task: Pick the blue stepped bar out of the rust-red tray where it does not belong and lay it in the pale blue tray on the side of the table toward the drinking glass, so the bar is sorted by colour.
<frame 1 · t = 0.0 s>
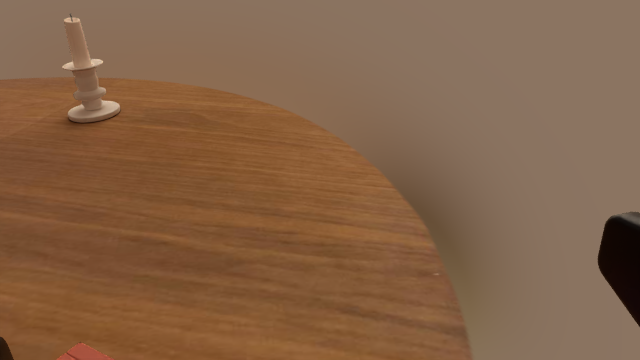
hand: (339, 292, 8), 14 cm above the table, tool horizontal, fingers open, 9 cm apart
candle: (95, 115, 59), on the table
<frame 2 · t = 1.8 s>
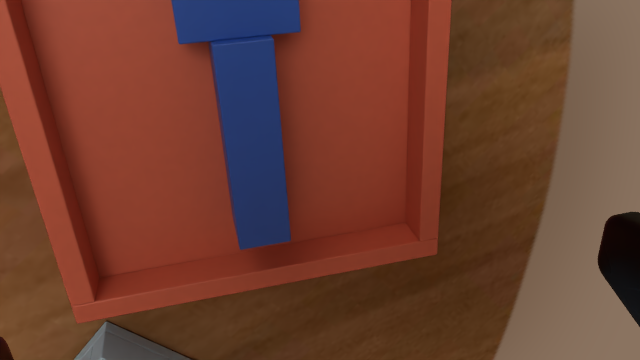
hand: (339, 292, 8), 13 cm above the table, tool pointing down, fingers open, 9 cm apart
red tray: (238, 68, 19), on the table
blue stepped bar: (240, 72, 18), point 1 cm above the table, touching red tray
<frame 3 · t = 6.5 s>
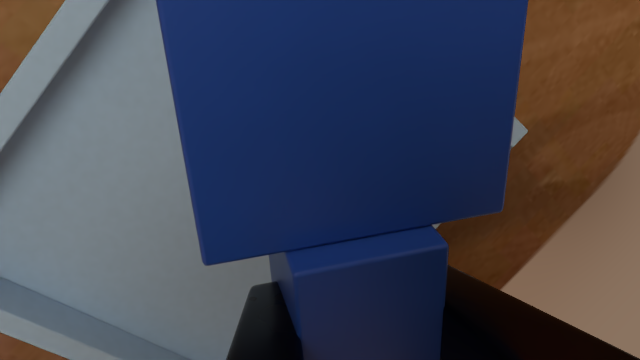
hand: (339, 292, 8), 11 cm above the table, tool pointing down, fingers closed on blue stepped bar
blue tray: (224, 171, 19), on the table
blue stepped bar: (327, 259, 9), point 11 cm above the table, touching gripper
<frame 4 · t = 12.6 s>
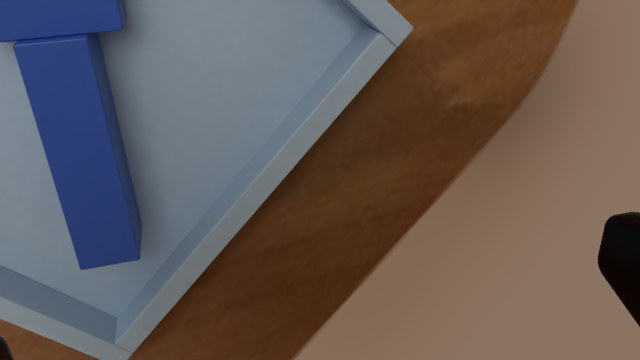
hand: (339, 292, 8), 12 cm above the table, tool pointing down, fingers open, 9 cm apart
blue tray: (77, 71, 17), on the table
blue stepped bar: (76, 75, 17), point 1 cm above the table, touching blue tray
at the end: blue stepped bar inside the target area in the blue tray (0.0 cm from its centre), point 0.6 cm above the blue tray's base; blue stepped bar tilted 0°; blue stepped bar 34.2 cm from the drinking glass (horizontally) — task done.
